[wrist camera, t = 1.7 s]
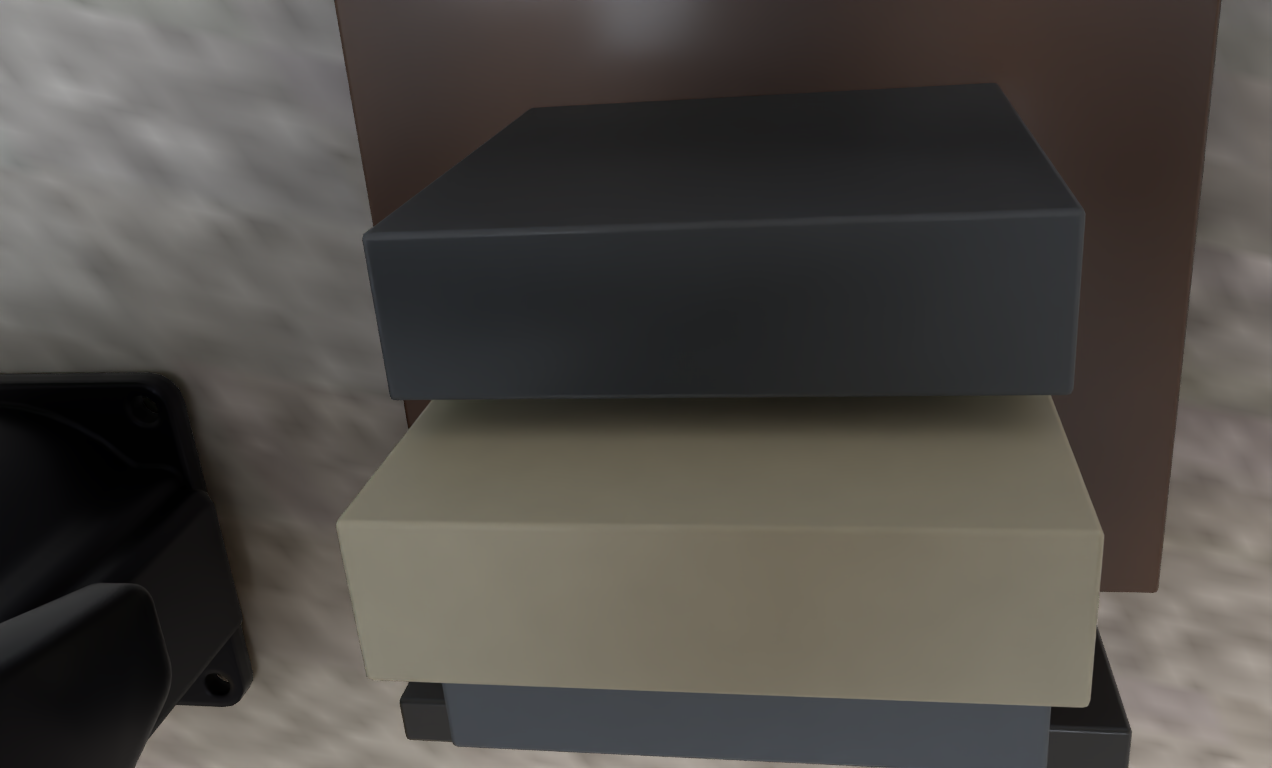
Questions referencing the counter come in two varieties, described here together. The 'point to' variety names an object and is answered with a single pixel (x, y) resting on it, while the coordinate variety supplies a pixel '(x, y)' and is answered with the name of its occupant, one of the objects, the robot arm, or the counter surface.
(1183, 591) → the counter surface
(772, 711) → the grey book
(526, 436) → the cream book
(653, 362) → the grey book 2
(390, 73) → the book rack
